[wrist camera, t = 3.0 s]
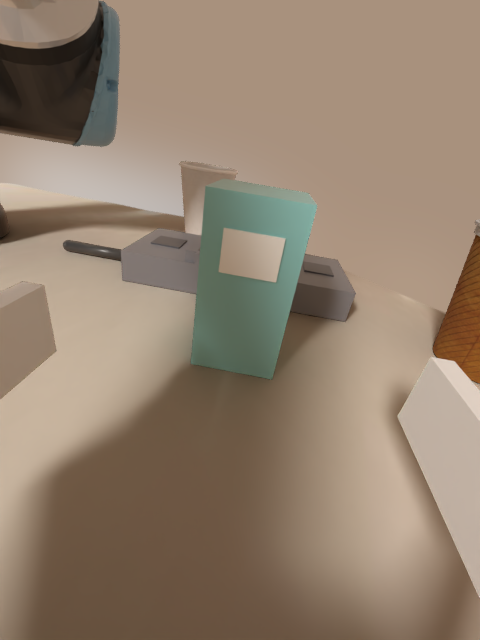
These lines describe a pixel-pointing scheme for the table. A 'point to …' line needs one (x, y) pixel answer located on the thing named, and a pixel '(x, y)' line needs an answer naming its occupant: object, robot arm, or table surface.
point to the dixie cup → (199, 190)
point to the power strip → (183, 264)
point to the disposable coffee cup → (464, 318)
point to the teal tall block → (248, 274)
